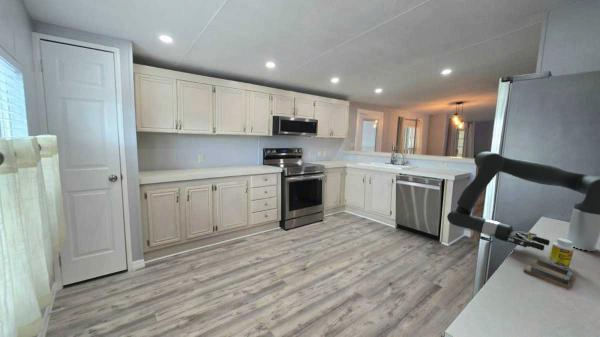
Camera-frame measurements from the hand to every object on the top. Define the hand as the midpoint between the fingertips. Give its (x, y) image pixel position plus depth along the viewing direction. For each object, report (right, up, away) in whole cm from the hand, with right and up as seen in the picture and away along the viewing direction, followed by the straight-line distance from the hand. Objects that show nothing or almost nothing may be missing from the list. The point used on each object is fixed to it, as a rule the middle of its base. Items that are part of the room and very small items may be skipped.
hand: (546, 245), depth 95 cm
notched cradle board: (-10, -7, -10) cm, 16 cm away
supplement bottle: (+2, -7, -2) cm, 8 cm away
